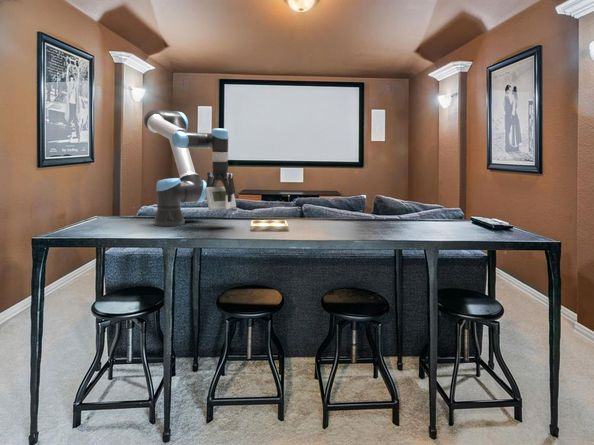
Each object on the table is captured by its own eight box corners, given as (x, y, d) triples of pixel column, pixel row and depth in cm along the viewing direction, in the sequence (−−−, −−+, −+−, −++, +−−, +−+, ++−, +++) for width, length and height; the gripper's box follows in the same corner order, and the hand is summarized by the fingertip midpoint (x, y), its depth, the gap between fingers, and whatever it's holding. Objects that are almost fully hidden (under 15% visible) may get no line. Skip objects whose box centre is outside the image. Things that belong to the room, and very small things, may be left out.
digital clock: (208, 210, 205) (208, 188, 203) (201, 208, 212) (201, 186, 210) (239, 209, 213) (239, 187, 212) (231, 206, 221) (231, 186, 219)
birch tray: (250, 231, 207) (250, 225, 206) (251, 224, 226) (251, 220, 226) (288, 231, 208) (288, 226, 208) (286, 225, 228) (286, 220, 227)
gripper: (197, 160, 211) (197, 207, 214) (234, 162, 201) (234, 210, 205) (207, 160, 217) (207, 205, 221) (243, 162, 208) (242, 208, 212)
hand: (220, 207), depth 213 cm, fingers closed on digital clock, 8 cm apart
